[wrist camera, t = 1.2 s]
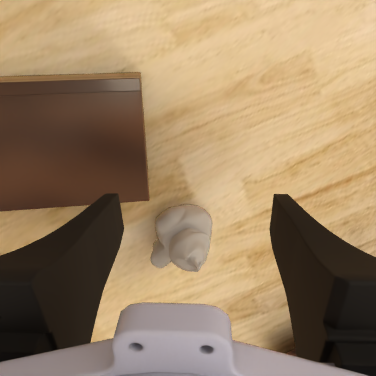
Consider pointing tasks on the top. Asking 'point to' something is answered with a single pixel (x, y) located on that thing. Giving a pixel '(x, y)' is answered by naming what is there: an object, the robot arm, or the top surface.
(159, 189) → the top surface
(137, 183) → the wooden box
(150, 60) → the top surface
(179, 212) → the beige rounded piece
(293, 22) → the top surface
